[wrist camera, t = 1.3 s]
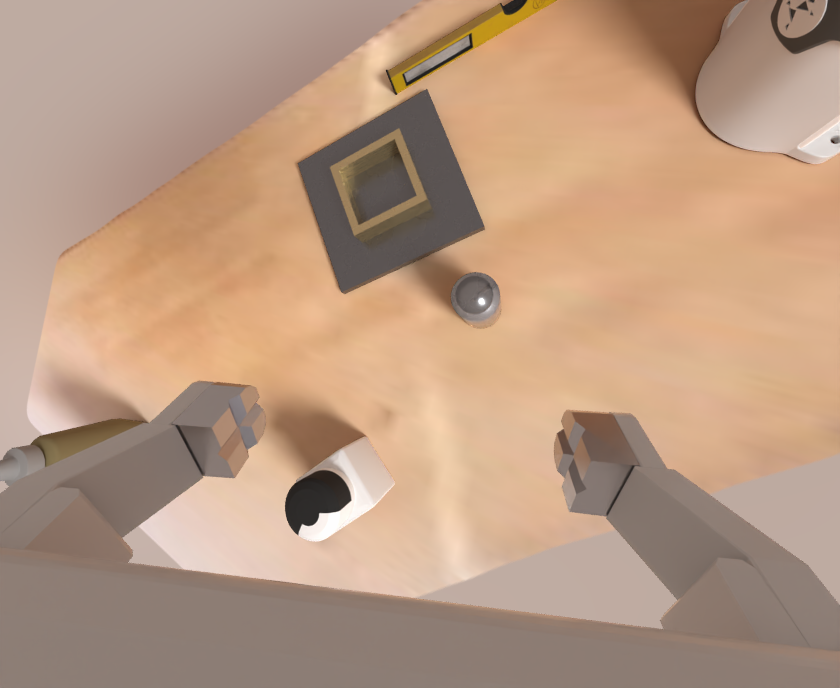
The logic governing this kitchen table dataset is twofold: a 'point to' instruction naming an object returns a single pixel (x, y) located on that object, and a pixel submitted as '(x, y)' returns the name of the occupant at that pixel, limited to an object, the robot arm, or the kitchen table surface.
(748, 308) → the kitchen table surface
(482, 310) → the domed metal canister
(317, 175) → the collar plate
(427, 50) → the spirit level
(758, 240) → the kitchen table surface
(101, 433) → the squeeze bottle
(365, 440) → the medicine bottle
